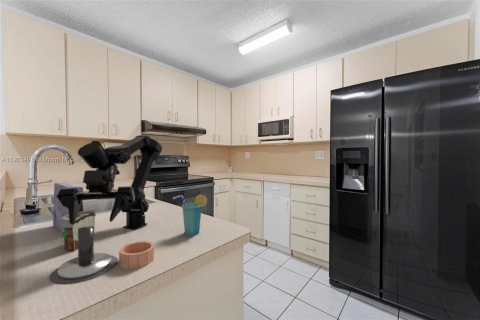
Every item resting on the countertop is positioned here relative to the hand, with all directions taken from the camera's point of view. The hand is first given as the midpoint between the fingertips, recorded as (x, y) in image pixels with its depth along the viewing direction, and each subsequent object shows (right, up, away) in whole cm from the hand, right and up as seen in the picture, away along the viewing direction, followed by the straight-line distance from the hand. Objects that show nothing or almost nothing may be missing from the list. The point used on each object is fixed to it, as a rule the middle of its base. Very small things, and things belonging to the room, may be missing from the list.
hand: (91, 222), depth 57 cm
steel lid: (+1, -10, -3) cm, 11 cm away
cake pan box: (-27, -10, +25) cm, 38 cm away
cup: (+22, -11, +22) cm, 32 cm away
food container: (-12, -11, +10) cm, 19 cm away
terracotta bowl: (+12, -11, 0) cm, 16 cm away
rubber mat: (+1, -11, -3) cm, 12 cm away
